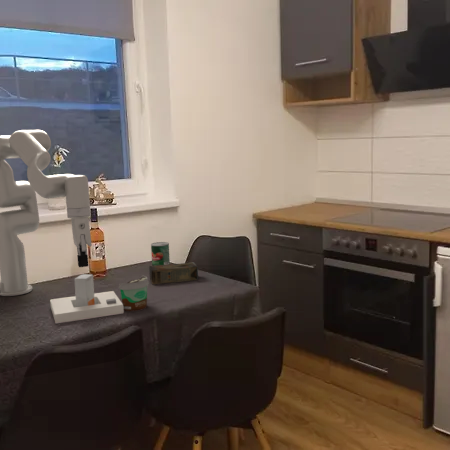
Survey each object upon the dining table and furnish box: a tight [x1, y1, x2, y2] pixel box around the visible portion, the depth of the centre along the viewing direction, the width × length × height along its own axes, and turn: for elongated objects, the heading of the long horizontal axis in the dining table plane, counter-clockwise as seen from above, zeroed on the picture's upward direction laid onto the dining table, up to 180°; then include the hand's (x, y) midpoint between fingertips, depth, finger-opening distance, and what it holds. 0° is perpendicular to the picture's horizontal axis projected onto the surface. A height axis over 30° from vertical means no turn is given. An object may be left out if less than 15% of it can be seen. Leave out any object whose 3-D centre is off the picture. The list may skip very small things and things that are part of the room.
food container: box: [118, 274, 150, 312], centre depth 188 cm, size 12×6×10 cm, turn 148°
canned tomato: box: [150, 241, 171, 266], centre depth 244 cm, size 8×8×11 cm
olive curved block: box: [148, 261, 199, 285], centre depth 223 cm, size 8×19×7 cm, turn 106°
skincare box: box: [74, 273, 95, 307], centre depth 188 cm, size 6×4×12 cm
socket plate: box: [49, 290, 125, 324], centre depth 188 cm, size 22×18×4 cm
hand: (83, 266), depth 186 cm, fingers closed
